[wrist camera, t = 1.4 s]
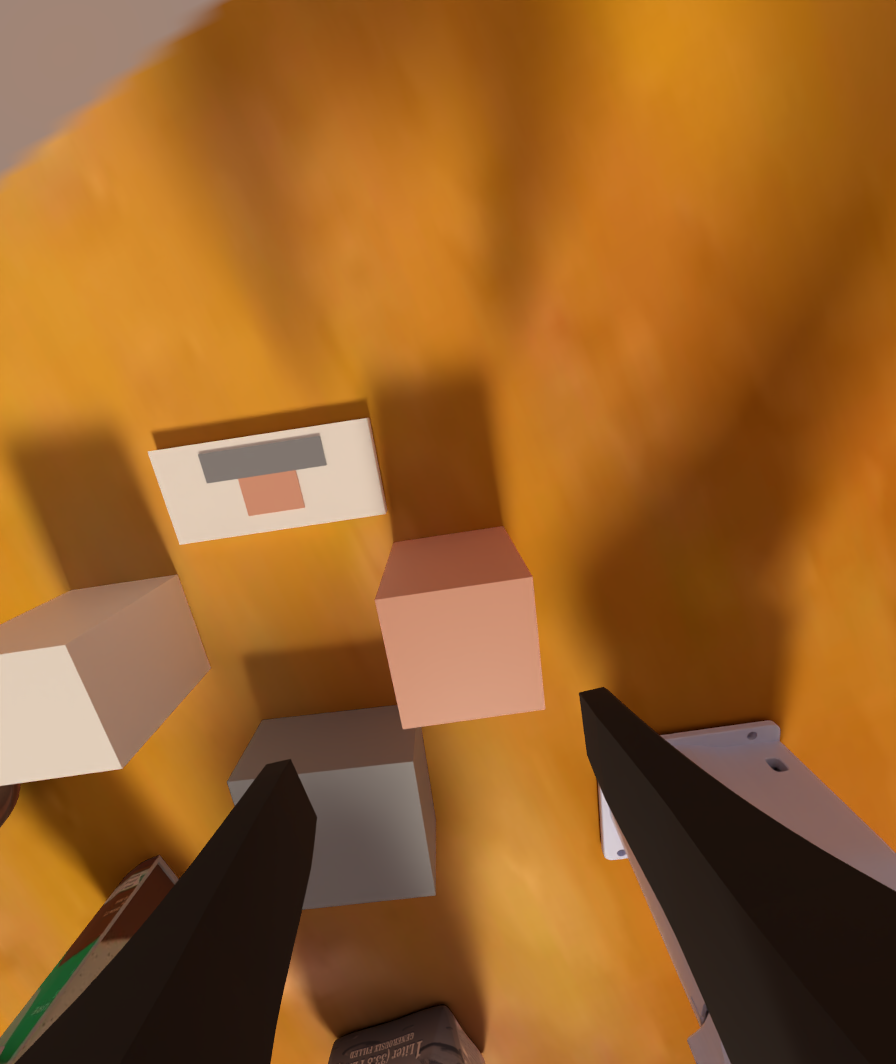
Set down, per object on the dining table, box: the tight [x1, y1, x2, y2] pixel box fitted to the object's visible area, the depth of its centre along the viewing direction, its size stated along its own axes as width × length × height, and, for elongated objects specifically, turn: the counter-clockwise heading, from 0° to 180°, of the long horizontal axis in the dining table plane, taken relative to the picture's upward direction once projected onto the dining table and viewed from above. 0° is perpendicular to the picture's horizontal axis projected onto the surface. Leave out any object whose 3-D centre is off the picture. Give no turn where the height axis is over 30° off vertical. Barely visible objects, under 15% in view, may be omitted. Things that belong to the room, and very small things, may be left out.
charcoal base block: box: [227, 705, 436, 910], centre depth 21 cm, size 8×8×4 cm
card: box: [148, 418, 387, 545], centre depth 17 cm, size 9×4×1 cm, turn 98°
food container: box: [0, 855, 179, 1064], centre depth 20 cm, size 12×6×10 cm, turn 21°
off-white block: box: [0, 574, 211, 786], centre depth 17 cm, size 5×5×6 cm
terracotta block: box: [375, 526, 545, 729], centre depth 17 cm, size 5×5×6 cm
